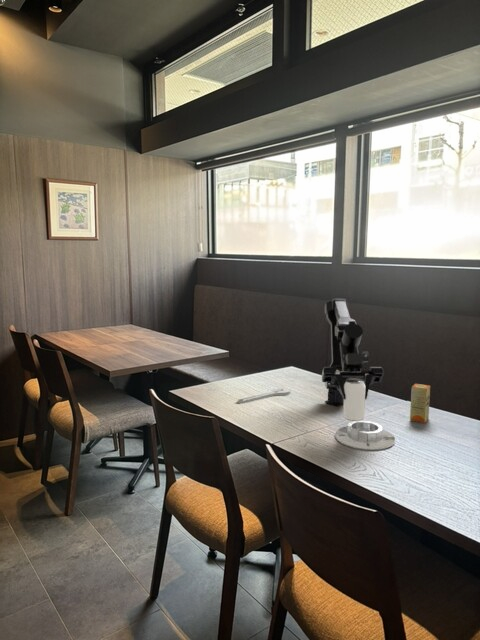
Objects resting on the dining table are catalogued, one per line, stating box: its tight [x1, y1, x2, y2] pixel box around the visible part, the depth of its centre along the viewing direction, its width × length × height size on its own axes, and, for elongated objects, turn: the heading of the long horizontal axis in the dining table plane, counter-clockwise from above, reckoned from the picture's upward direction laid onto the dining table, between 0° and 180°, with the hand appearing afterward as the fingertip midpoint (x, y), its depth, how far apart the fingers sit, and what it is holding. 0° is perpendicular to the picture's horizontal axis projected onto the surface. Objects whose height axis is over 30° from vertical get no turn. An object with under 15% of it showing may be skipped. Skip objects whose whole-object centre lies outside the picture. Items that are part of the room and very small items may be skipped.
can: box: [342, 377, 366, 422], centre depth 146 cm, size 6×6×12 cm
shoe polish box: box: [409, 383, 431, 424], centre depth 163 cm, size 5×5×12 cm
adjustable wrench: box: [236, 387, 291, 404], centre depth 190 cm, size 25×6×2 cm, turn 120°
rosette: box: [334, 420, 396, 451], centre depth 148 cm, size 18×18×4 cm
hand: (355, 398), depth 145 cm, fingers closed on can, 6 cm apart
